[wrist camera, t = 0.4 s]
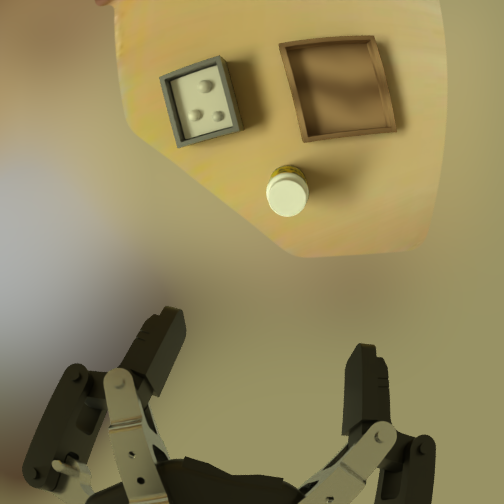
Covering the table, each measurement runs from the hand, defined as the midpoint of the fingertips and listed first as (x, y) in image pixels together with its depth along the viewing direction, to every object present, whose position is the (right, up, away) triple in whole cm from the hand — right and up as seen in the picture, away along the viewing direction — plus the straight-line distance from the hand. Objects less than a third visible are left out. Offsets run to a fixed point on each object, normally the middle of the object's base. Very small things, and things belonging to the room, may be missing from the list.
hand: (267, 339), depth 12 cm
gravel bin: (-7, +23, +20) cm, 31 cm away
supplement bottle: (+4, +13, +23) cm, 27 cm away
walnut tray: (+10, +25, +17) cm, 31 cm away
